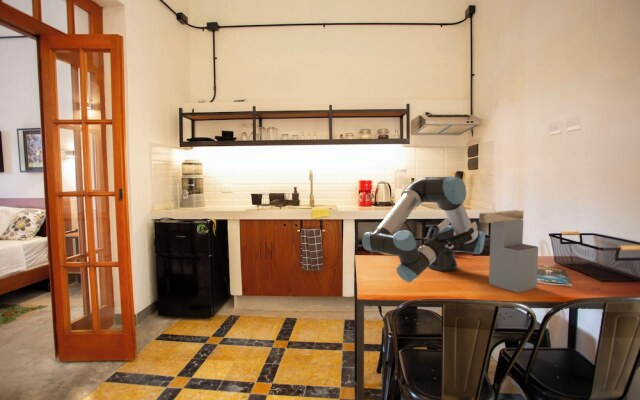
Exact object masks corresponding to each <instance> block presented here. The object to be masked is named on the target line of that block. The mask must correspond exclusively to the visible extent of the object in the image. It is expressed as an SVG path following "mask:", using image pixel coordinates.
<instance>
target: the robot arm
mask: <svg viewBox="0 0 640 400" xmlns="http://www.w3.org/2000/svg"><path fill="white" fill-rule="evenodd" d="M466 187H467V186H466V184H465V182H464V180H463V179H462V178H460V177H459V176H458V177H456V176H423V177H421V178H418V179H416V180H414V181H412V182H411V183H410V184H408V185H407V186H406V187H405V188H404V189H403V191H402V192H401V194H400V198H399V199H398V201H397V202H396V203H395V205H393V207H392V208H391V210H389V212H388V213H387V214H386V216H385V218H383V220H382V221H381V222H380V223H379V225H377V227H376V229H375V230H373V231H367V232H365V233H364V234H363V236H362V237H361V238H362V240H361V244H362V247H363V249H365V251H369V252H373V253H374V252H375V253H381V254H385V255H386V254H387V255H391V256H397V257H398V259H399V262H400V264H398V265H397V267H396V273H397V275H398V276H399V278H401V279H402V280H403V281H405V282H406V283H411V282H413V281H414V280H415V279H417V278H419V276H420V275H421V274H422V273H423V272H424V271H425V270H426V269H427V268H429V269H431V270H435V271H440V272H455V271H456V270H458V262H457V260H456V259H457V258H456V256H455V252H462V253H468V254H472V255H475V254H476V255H480V254H481V253H483V250H484V246H485V240H486V234H485V232H484V231H481V230H478V225H477V223H476V221H473V222H472V221H471V220H470V218H469V215H468V214H467V210H466V208H465V206H464V202H465V201H466V198H467V190H466V189H467V188H466ZM422 203H423V204H424V203H431V204H433V203H435V204H437V206H438V208H439V209H440V210H442V211H444V213H445V215H446V218H445V219H444V220H442V221H441V222H440V223H439V224H437V225H436V224H434V225H433V226H430V227H429V228H428V231H427V234H426V236H425V237H424V238H423V241H424V243H423V244H422V245H420V246H419V247H418V245H417V241H416V239H415V236H414V234H413V232H412V231H410V230H407V229H406V230H405V229H404V230H400V229H401V227H402V226H403V225H404V223H405V222H406V220H407V219H408V217H409V216H410V215H411V213H412V212H414V210H415V208H418V207H419V206H420V205H421V204H422ZM450 224H451V225H450Z"/></svg>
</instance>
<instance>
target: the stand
mask: <svg viewBox="0 0 640 400" xmlns="http://www.w3.org/2000/svg"><path fill="white" fill-rule="evenodd" d="M489 235H490V240H489V241H490V242H489V243H490V244H489V267H488V269H489V270H488V271H489V272H488V285H490V286H494V287H498V288H501V289H504V290H506V291H507V290H508V291H511V292H513V293H516V294H519V293H523V292H526V291H530V290H533V288H534V289H536V288H537V287H538V286H537V284H538V283H537V282H538V262H539V261H538V260H539V247H538V246H537V245H531V244H526V243H525V244H524V242H523V240H524V239H523V237H524V219H521V220H512V221H503V222H494V223H490V234H489Z"/></svg>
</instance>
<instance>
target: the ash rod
mask: <svg viewBox="0 0 640 400" xmlns="http://www.w3.org/2000/svg"><path fill="white" fill-rule="evenodd" d="M478 214H479V216H478V222H479V223H482V224H483V223H484V224H491V223H494V222H503V221H512V220H524V214H525V213H524V210H517V209H511V210H500V211H498V210H497V211H490V212H479V213H478Z"/></svg>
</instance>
